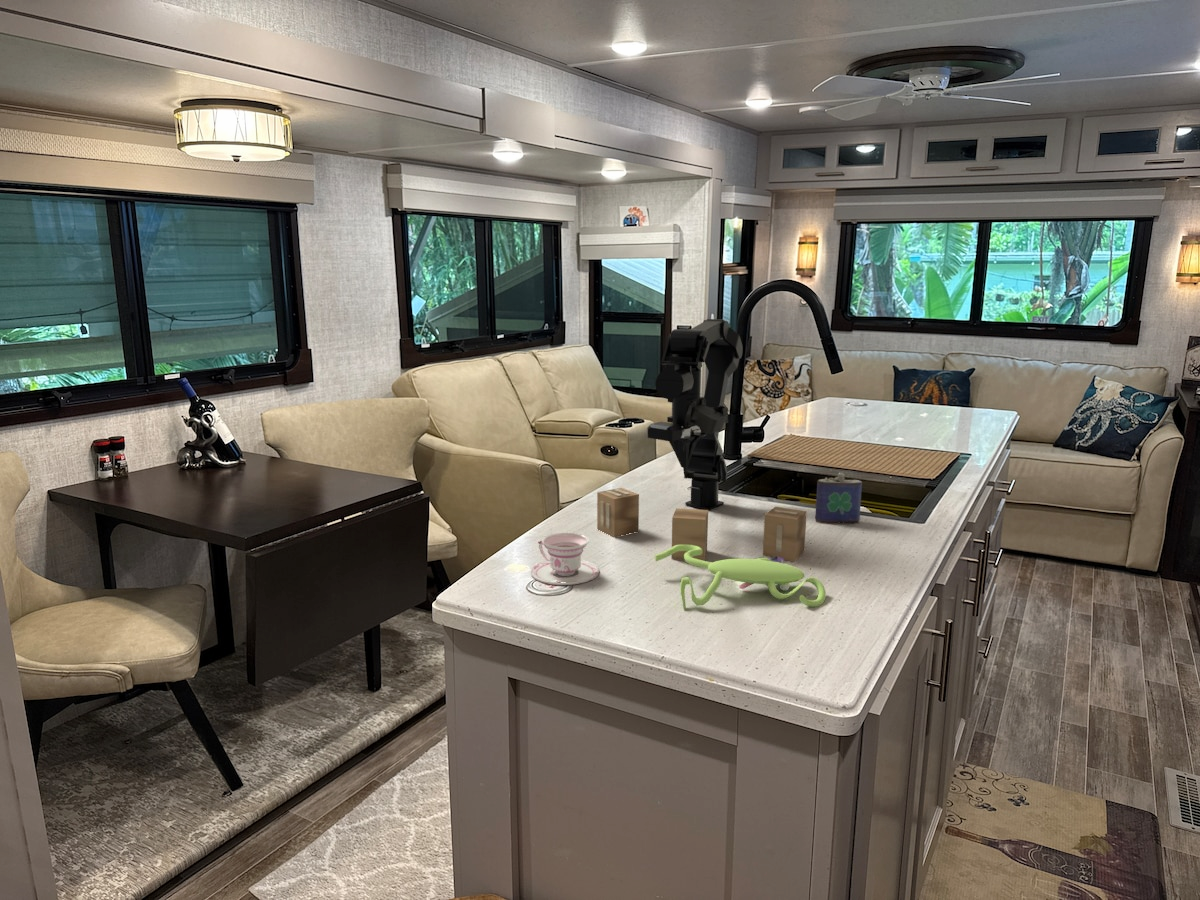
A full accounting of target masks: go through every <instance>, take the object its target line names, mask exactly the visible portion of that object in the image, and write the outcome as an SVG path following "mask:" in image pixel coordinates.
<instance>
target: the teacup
mask: <svg viewBox="0 0 1200 900" xmlns="http://www.w3.org/2000/svg"><path fill="white" fill-rule="evenodd" d="M589 542H590V538H589V537H588V536H586V535H582V534H580V533H575V532H573V533H572V532H557V533H551V534H547V535H544V536H543V537H541V540H539V541H537V544H538V549H539V552H540V554H541V556H542V557H543V558H544V559H545V561H542V562H539V563H537V564H536V565H533V566H532V568H531V569H530V575H531V577H532V578H533V579H534V580H536V581H538V582H541V583H543V584H547V585H548V584H549V585H553V586H554V585H555V586H556V585H557V586H570V585H571V586H574V585H578V584H584V583H587V582H591V581H592V580H594V579H595V578H596V577H598V575H599V573H600V569H599V567H598V565H596V564H594V563H592V562H591V561H587V560H584V559H583V560H582V557H581V556H582V554H583V553H584V548H586V547H587V545H588V544H589ZM543 546H544V548H545V549H546V550H547V553H548V555H549V556H548V555H547V554H546V552H544V549H543ZM554 571H555V573H556V574H557V575H559V576H555V575H553V574H552V572H554ZM576 572H577V573H578V574H575V573H576ZM560 576H561V577H560ZM550 579H551V580H550ZM547 580H548V581H547ZM553 580H557V581H559V582H566V583H557V581H556V582H551V581H553Z"/></svg>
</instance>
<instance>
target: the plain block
mask: <svg viewBox="0 0 1200 900" xmlns="http://www.w3.org/2000/svg"><path fill="white" fill-rule="evenodd" d="M671 519H672V520H671V523H672V524H671V548H672V547H673V546H675V545H683V544H685V545H694V546H698V547H700V548H701V549H702V554H701V555H698V556H693V557H692V558H695V559H699V560H703V561H705V560H706V557H707V554H708V535H709V534H708V532H709V530H708V528H709V527H708V525H709V510H706V509H698V508H697V509H694V508H680V507H679V508H678V507H676V508H675V510H674V512H673V515H672V518H671ZM686 552H688V551H677V552H675V553H673V554H672V555H671V560H677V559H679V560H680V561H685V559H684V554H685V553H686Z"/></svg>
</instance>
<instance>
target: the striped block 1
mask: <svg viewBox="0 0 1200 900" xmlns="http://www.w3.org/2000/svg"><path fill="white" fill-rule="evenodd" d="M596 495H597V497H596V500H597V501H596V507H597V509H596V511H597V513H596V516H597V519H596V522H597V523H596V530H597V529H598V530H597V531H599V530H600V531H599V532H601V531H602V532H601V533H603V532H604V533H603V534H605V533H606V535H607V534H608V535H607V536H609V535H610V537H612V538H614V537H615V538H619V537H618V536H620V537H622V536H621V535H624V536H627V535H626V534H629V533H633V534H635V533H634V532H638V533H639V527H640V526H639V521H640V520H639V519H640V516H639V515H640V512H639V511H640V495H639V493H637V492H634V491H631V490H628V489H625V488H623V487H618V488H612V489H608V490H602V491H597V494H596ZM629 535H630V534H629Z"/></svg>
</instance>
